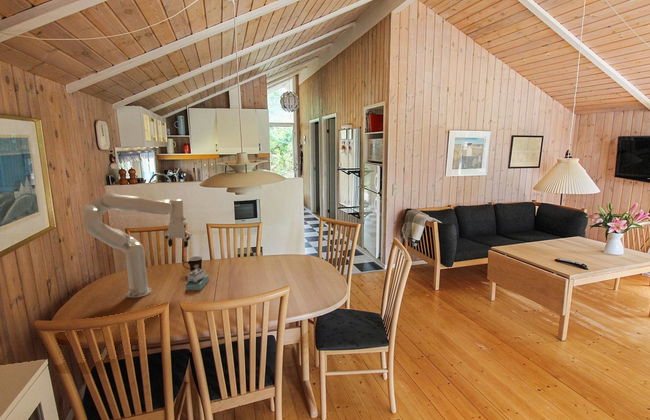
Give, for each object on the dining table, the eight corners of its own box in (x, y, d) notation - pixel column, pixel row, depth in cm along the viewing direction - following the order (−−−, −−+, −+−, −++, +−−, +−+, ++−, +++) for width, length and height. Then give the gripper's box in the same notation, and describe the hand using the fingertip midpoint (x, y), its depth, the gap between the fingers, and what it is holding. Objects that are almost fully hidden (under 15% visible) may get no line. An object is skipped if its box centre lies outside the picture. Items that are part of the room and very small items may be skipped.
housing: (205, 276, 224) (204, 268, 222) (196, 282, 215) (195, 273, 214) (197, 275, 225) (196, 267, 224) (188, 281, 217) (187, 272, 216)
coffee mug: (204, 269, 245) (203, 256, 243) (200, 274, 237) (199, 260, 235) (187, 270, 245) (186, 256, 243) (183, 275, 236) (181, 260, 234)
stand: (200, 290, 214) (200, 283, 213) (185, 290, 214) (185, 283, 214) (208, 280, 228) (208, 274, 227) (194, 280, 228) (194, 274, 227)
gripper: (193, 218, 220) (194, 245, 223) (166, 217, 221) (167, 244, 225) (187, 221, 213) (189, 249, 216) (159, 220, 214) (161, 247, 217)
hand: (178, 246), depth 220 cm, fingers open, 9 cm apart
